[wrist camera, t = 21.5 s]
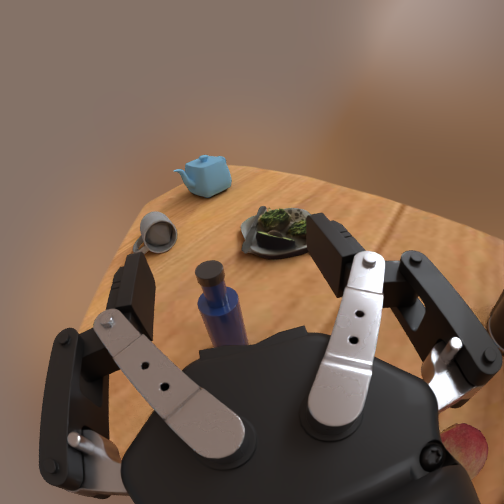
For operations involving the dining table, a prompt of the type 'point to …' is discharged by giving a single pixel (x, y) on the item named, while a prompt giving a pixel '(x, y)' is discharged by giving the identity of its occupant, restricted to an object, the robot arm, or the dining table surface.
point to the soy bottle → (220, 306)
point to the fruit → (466, 447)
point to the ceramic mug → (156, 234)
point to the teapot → (206, 175)
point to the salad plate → (276, 233)
